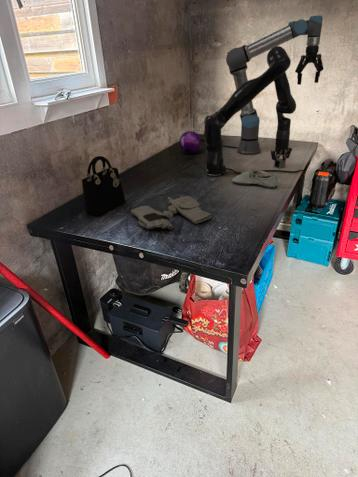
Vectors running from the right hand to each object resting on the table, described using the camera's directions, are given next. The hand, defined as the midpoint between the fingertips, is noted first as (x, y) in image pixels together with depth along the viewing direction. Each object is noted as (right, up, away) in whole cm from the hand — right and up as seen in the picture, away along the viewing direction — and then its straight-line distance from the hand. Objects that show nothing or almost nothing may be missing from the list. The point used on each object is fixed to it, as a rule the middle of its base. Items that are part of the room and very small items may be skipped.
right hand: (307, 83), depth 213 cm
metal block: (-23, -57, -15) cm, 64 cm away
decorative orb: (-75, -40, +20) cm, 88 cm away
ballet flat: (-43, -72, -38) cm, 92 cm away
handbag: (-119, -86, -54) cm, 156 cm away
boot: (-59, -26, +42) cm, 77 cm away
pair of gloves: (-87, -91, -67) cm, 143 cm away
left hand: (-23, -57, -15) cm, 63 cm away
